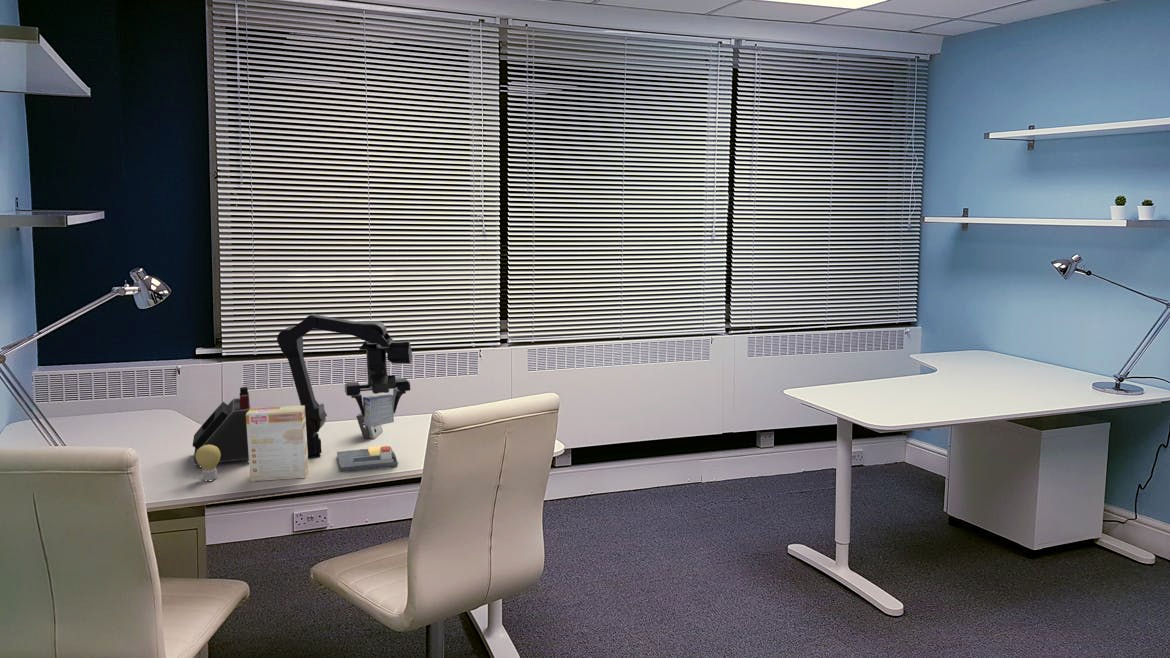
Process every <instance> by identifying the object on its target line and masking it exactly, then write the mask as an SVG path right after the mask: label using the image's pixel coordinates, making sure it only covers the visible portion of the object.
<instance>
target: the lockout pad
mask: <svg viewBox="0 0 1170 658" xmlns="http://www.w3.org/2000/svg"><path fill="white" fill-rule="evenodd" d="M384 446H385V445H380V446H371V447H370V446H369V447H367V448H366V449H368V452H369V455H370V456H373V455H380V449H381V447H384Z"/></svg>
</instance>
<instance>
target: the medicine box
mask: <svg viewBox="0 0 1170 658" xmlns="http://www.w3.org/2000/svg"><path fill="white" fill-rule="evenodd" d="M362 402H363V408H364V423H363V424H365V425H367V426H370V427H374V426H378V425H381V426H383V425H387V424H391V423H394V422H395V417H394V416H395V414H394V412H393V394H390V393H389V392H388V393H378V394H372V395H367V396H362Z"/></svg>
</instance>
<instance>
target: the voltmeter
mask: <svg viewBox="0 0 1170 658" xmlns="http://www.w3.org/2000/svg"><path fill="white" fill-rule="evenodd" d="M248 390H249V389H248V387H247V386H241V387H239V398H238V397H237V398H232V400H231V401H230V402H229V403H226V402H224V401H222V402H221V403H220V404H219V405H218V407H217V408H216V409H215V410H214V411H213V412H212V413H211V415H209V417H208V418H207V419H206V420H205V422H203V424H201V426H200V427H199V428H198V430H197V431H196V432H195V433H194V434H193V440H192V447H193V448H194V452H193V462H194V465H198V467H199V466H200V465H199V464H198V463H197V461H196V452H197V450H198V449H199V448H200V447H202V446H204V445H214V446H216V447H218V449H219V450H220V453H221V457H220V460H219V462H218V463H222V462H234V461H241V462H242V461H243V462H247V461H249V454H248V439H247V425H246V413H247V412H248V411H249V410H250V408H251V397H250V393H249V391H248ZM243 462H242V463H243ZM247 463H248V462H247Z"/></svg>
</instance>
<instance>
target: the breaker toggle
mask: <svg viewBox="0 0 1170 658" xmlns="http://www.w3.org/2000/svg"><path fill="white" fill-rule="evenodd" d="M383 446H384V447H381V449H380V460H386V459H392V452H391V449H392V448H391V449H390V447H391V446H390V445H383Z"/></svg>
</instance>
